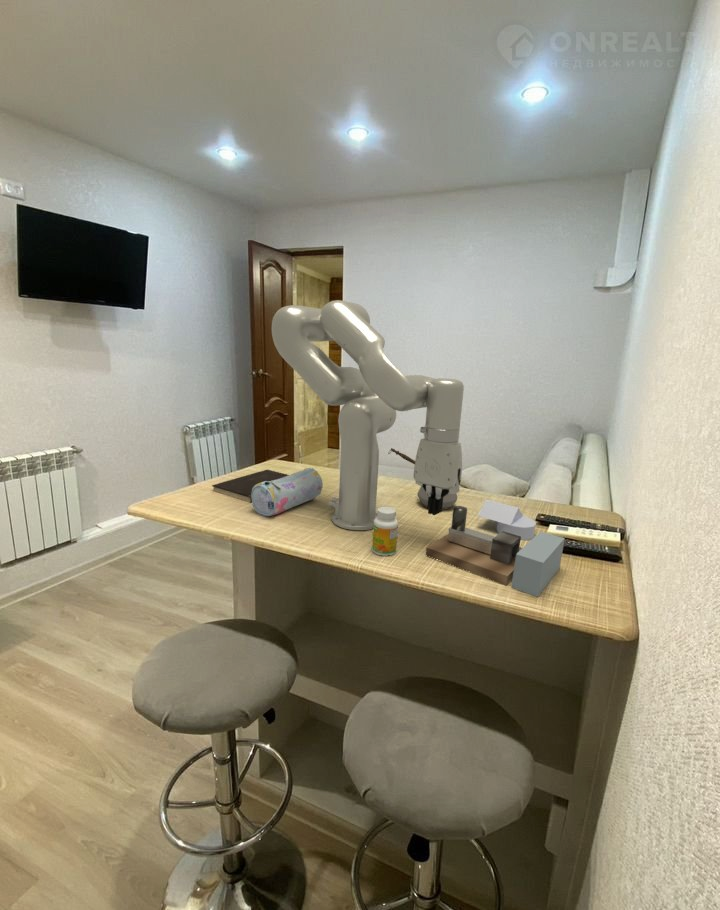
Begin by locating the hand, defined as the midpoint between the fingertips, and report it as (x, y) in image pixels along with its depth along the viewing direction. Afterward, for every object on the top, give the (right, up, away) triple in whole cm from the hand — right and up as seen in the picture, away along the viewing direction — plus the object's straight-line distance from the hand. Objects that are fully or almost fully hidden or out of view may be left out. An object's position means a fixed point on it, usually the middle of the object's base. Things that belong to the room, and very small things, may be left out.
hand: (434, 512), depth 103 cm
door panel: (+9, -9, -5) cm, 14 cm away
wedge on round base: (+20, -6, +11) cm, 24 cm away
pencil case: (-37, -1, +19) cm, 42 cm away
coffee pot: (0, -1, +28) cm, 28 cm away
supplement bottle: (-12, -8, -4) cm, 15 cm away
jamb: (+19, -11, -13) cm, 25 cm away
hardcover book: (-48, +3, +34) cm, 59 cm away
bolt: (+8, -7, -5) cm, 12 cm away
